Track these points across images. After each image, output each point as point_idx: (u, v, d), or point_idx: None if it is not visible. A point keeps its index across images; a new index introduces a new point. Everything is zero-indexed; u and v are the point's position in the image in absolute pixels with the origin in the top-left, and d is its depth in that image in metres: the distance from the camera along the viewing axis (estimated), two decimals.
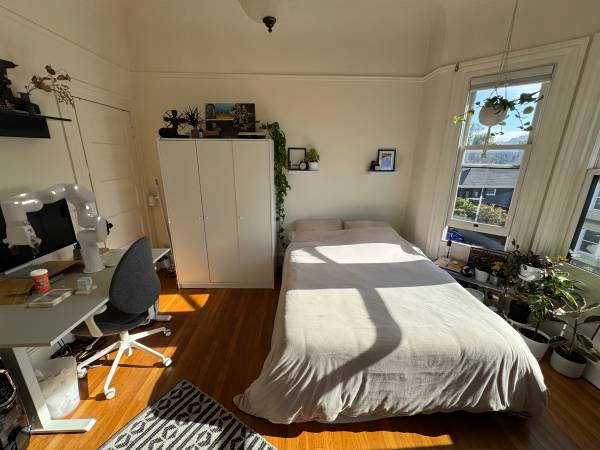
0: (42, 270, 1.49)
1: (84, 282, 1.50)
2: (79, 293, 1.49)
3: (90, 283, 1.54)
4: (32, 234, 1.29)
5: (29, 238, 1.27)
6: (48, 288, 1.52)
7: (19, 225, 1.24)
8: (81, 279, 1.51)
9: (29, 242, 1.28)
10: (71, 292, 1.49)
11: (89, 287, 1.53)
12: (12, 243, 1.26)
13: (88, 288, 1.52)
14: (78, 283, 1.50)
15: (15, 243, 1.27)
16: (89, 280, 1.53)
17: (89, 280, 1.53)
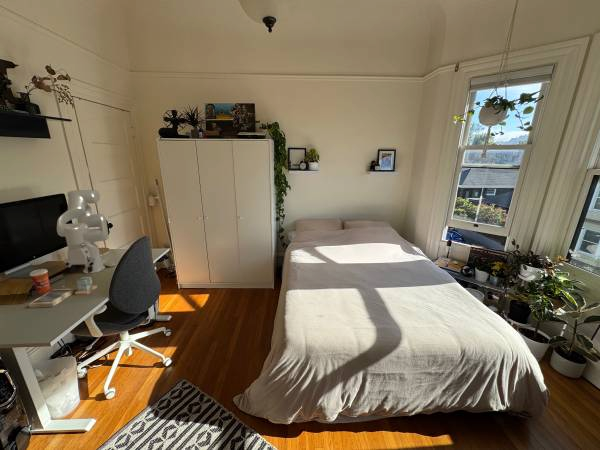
0: (42, 270, 1.49)
1: (84, 282, 1.50)
2: (79, 293, 1.49)
3: (90, 283, 1.54)
4: (88, 255, 1.49)
5: (86, 258, 1.47)
6: (48, 288, 1.52)
7: (78, 247, 1.44)
8: (81, 279, 1.51)
9: (86, 262, 1.47)
10: (71, 292, 1.49)
11: (89, 287, 1.53)
12: (71, 263, 1.46)
13: (88, 288, 1.52)
14: (78, 283, 1.50)
15: (74, 263, 1.46)
16: (89, 280, 1.53)
17: (89, 280, 1.53)
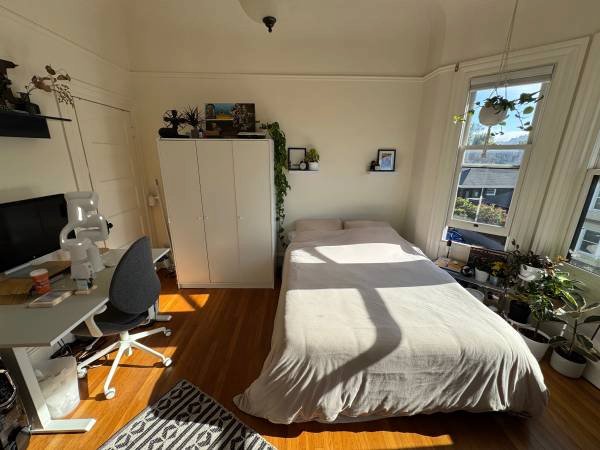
0: (42, 270, 1.49)
1: (84, 282, 1.50)
2: (79, 293, 1.49)
3: None
4: (91, 269, 1.51)
5: (89, 273, 1.50)
6: (48, 288, 1.52)
7: (82, 263, 1.47)
8: (81, 279, 1.51)
9: (89, 276, 1.50)
10: (71, 292, 1.49)
11: None
12: (75, 277, 1.49)
13: (88, 288, 1.52)
14: (78, 283, 1.49)
15: (77, 277, 1.49)
16: None
17: None
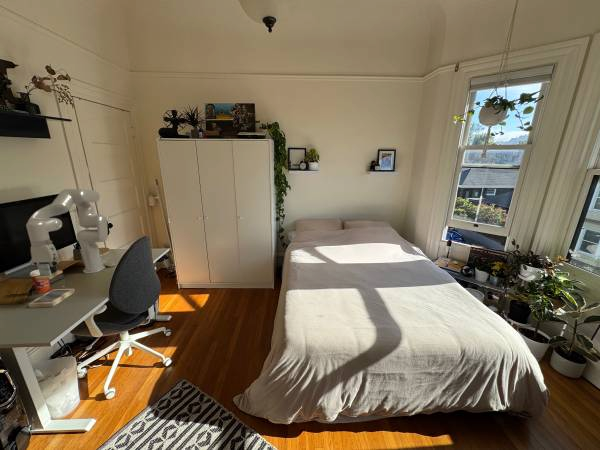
0: None
1: (46, 266, 1.36)
2: (40, 278, 1.36)
3: None
4: (54, 252, 1.38)
5: (52, 256, 1.36)
6: (48, 288, 1.52)
7: (43, 244, 1.33)
8: (43, 263, 1.37)
9: (52, 260, 1.37)
10: (71, 292, 1.49)
11: None
12: (36, 261, 1.35)
13: (51, 273, 1.39)
14: (39, 267, 1.36)
15: (39, 261, 1.36)
16: None
17: None
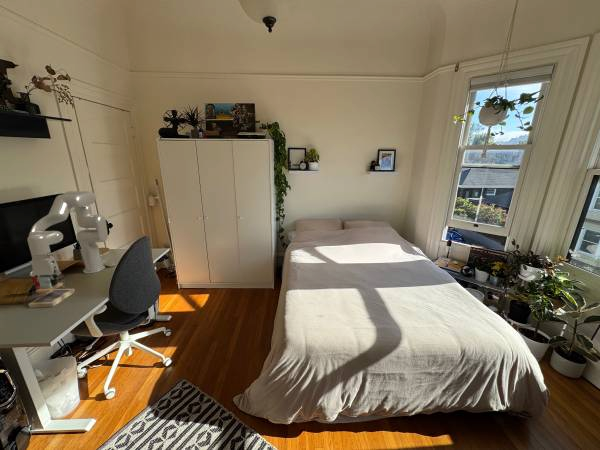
0: None
1: (47, 279, 1.38)
2: (41, 291, 1.37)
3: None
4: (55, 265, 1.39)
5: (52, 269, 1.38)
6: None
7: (44, 258, 1.35)
8: (44, 276, 1.39)
9: (52, 273, 1.38)
10: (71, 292, 1.49)
11: None
12: (37, 274, 1.37)
13: (51, 285, 1.40)
14: (40, 280, 1.37)
15: (39, 274, 1.37)
16: None
17: None
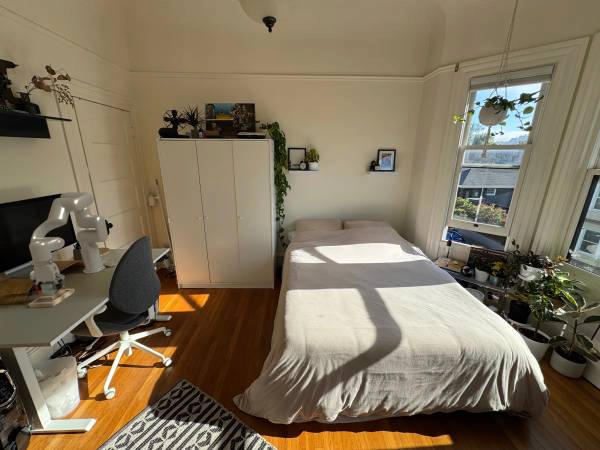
0: None
1: (49, 286, 1.39)
2: (43, 298, 1.39)
3: None
4: (56, 271, 1.40)
5: (54, 275, 1.39)
6: None
7: (45, 264, 1.36)
8: (46, 283, 1.40)
9: (54, 279, 1.39)
10: (71, 292, 1.49)
11: (55, 291, 1.42)
12: (38, 280, 1.38)
13: (54, 292, 1.41)
14: (42, 287, 1.39)
15: (41, 280, 1.38)
16: (55, 284, 1.42)
17: None
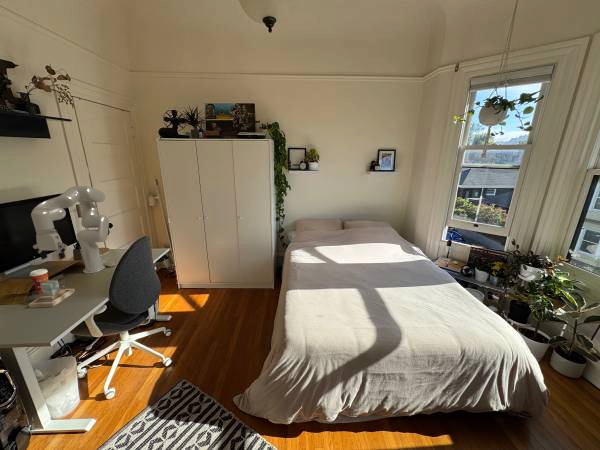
0: (42, 270, 1.49)
1: (49, 286, 1.39)
2: (43, 298, 1.39)
3: (56, 287, 1.43)
4: (59, 241, 1.42)
5: (56, 244, 1.41)
6: None
7: (48, 233, 1.37)
8: (46, 283, 1.40)
9: (57, 248, 1.41)
10: (71, 292, 1.49)
11: (55, 291, 1.42)
12: (41, 249, 1.40)
13: (54, 292, 1.41)
14: (42, 287, 1.39)
15: (44, 249, 1.40)
16: (55, 284, 1.42)
17: (56, 284, 1.43)
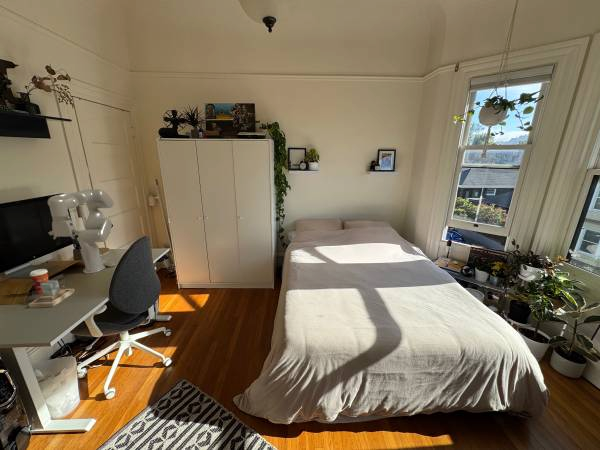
0: (42, 270, 1.49)
1: (49, 286, 1.39)
2: (43, 298, 1.39)
3: (56, 287, 1.43)
4: (73, 227, 1.52)
5: (70, 231, 1.50)
6: None
7: (63, 220, 1.47)
8: (46, 283, 1.40)
9: (70, 234, 1.51)
10: (71, 292, 1.49)
11: (55, 291, 1.42)
12: (56, 235, 1.49)
13: (54, 292, 1.41)
14: (42, 287, 1.39)
15: (59, 235, 1.50)
16: (55, 284, 1.42)
17: (56, 284, 1.43)
